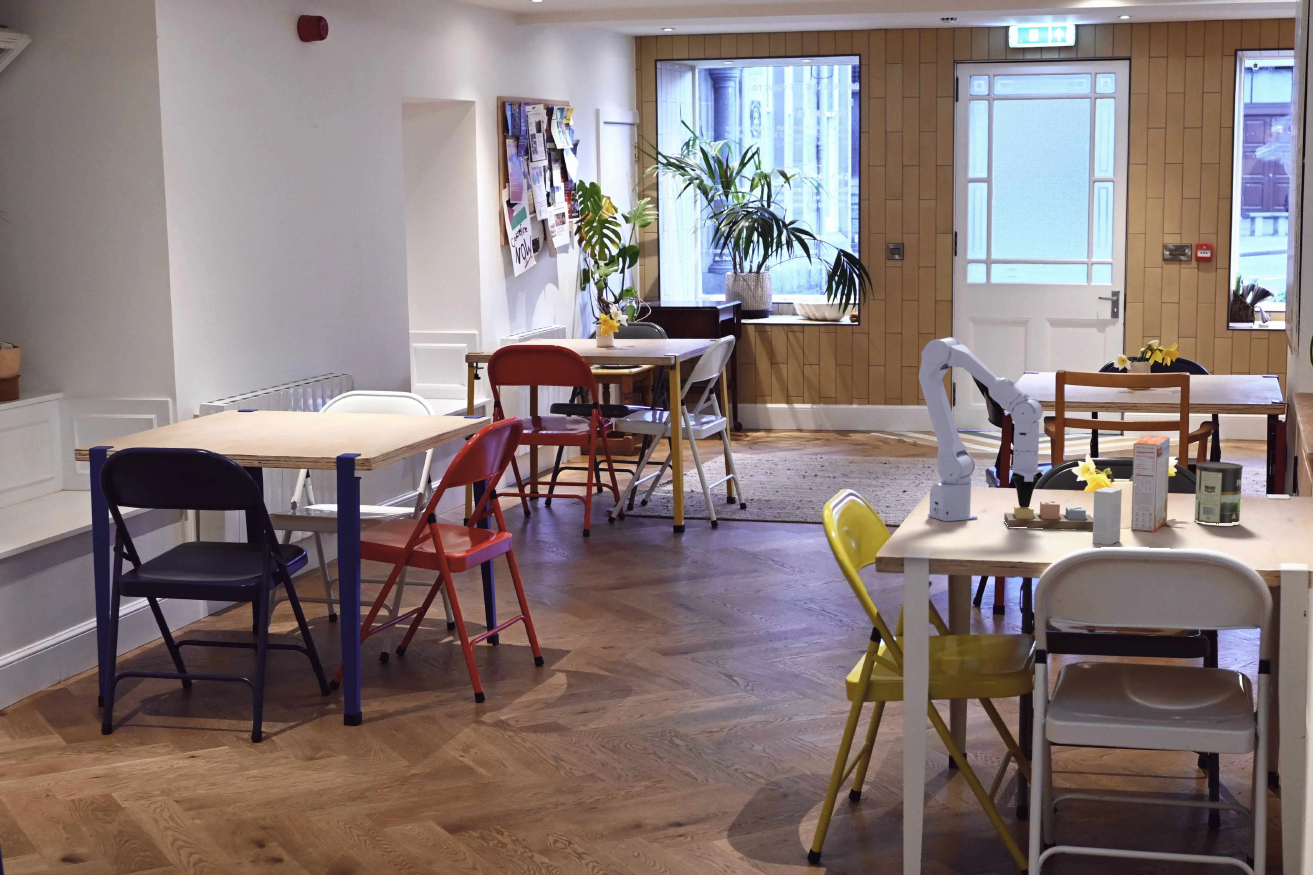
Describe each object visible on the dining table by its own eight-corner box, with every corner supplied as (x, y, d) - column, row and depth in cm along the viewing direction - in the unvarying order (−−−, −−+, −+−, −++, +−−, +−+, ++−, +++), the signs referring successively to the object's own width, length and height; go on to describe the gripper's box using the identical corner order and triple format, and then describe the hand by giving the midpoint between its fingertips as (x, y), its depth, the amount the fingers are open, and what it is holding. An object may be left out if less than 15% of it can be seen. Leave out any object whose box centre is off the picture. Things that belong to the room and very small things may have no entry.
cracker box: (1141, 520, 338) (1145, 434, 335) (1167, 522, 335) (1171, 436, 332) (1128, 530, 326) (1132, 441, 323) (1155, 532, 323) (1159, 443, 320)
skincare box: (1101, 538, 317) (1104, 486, 315) (1120, 541, 314) (1122, 488, 313) (1091, 542, 313) (1093, 490, 311) (1109, 545, 310) (1112, 492, 308)
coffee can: (1238, 519, 338) (1241, 462, 336) (1241, 528, 328) (1244, 469, 326) (1192, 517, 341) (1195, 460, 339) (1194, 525, 331) (1197, 467, 329)
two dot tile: (1042, 518, 330) (1042, 502, 329) (1039, 515, 334) (1040, 499, 333) (1059, 519, 329) (1059, 503, 329) (1056, 515, 333) (1057, 500, 333)
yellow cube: (1015, 523, 331) (1016, 507, 330) (1013, 520, 335) (1014, 504, 334) (1033, 523, 330) (1033, 508, 330) (1030, 520, 334) (1031, 505, 334)
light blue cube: (1067, 524, 329) (1068, 508, 329) (1065, 521, 333) (1065, 505, 333) (1085, 525, 329) (1086, 509, 328) (1082, 521, 333) (1083, 506, 332)
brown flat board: (1008, 528, 329) (1008, 519, 328) (1004, 520, 338) (1004, 512, 337) (1095, 530, 326) (1096, 521, 326) (1089, 522, 335) (1089, 514, 335)
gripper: (1047, 455, 322) (1045, 512, 324) (1039, 446, 337) (1037, 501, 339) (1016, 454, 323) (1014, 512, 325) (1009, 445, 338) (1007, 500, 339)
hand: (1024, 506), depth 332 cm, fingers closed, pressing on yellow cube
